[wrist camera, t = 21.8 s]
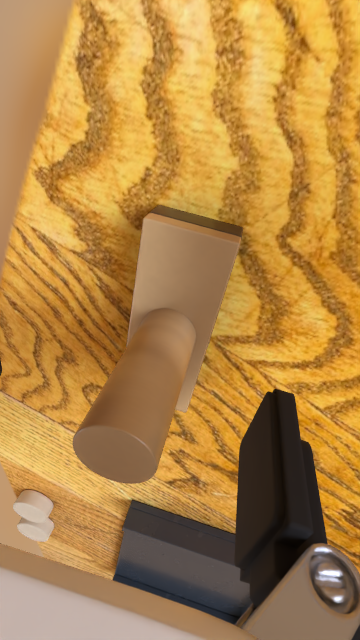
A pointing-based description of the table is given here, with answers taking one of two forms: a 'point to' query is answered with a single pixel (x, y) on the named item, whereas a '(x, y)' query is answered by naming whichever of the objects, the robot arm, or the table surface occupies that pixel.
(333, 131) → the table surface
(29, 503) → the disc
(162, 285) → the brush
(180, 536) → the tray
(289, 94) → the table surface
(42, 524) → the disc
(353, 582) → the robot arm
